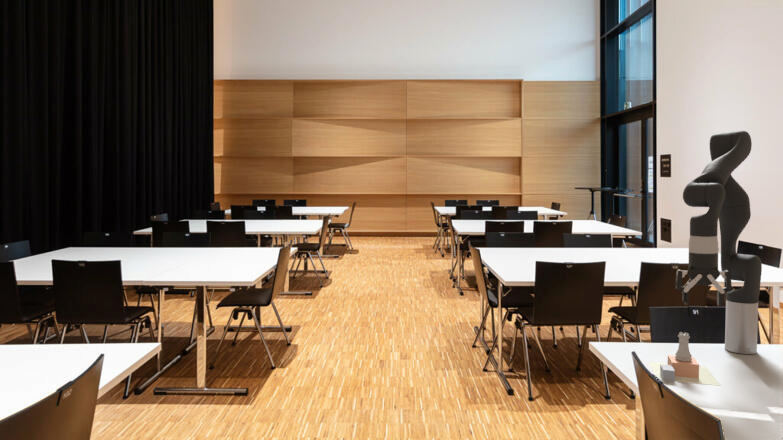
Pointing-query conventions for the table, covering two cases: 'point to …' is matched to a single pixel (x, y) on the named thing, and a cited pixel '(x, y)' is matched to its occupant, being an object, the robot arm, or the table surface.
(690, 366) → the terracotta brick
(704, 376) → the plate
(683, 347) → the rook chess piece
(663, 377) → the slate brick
